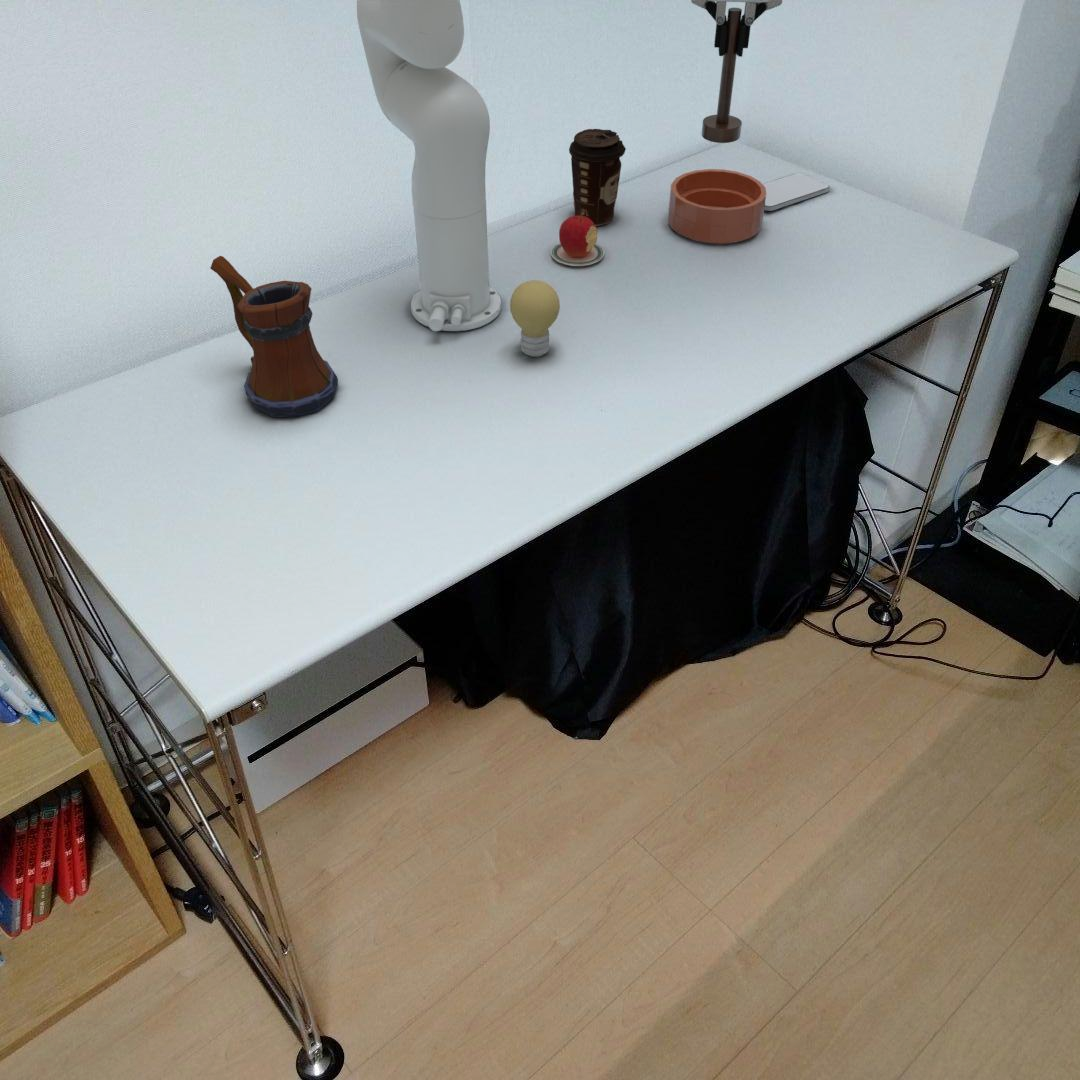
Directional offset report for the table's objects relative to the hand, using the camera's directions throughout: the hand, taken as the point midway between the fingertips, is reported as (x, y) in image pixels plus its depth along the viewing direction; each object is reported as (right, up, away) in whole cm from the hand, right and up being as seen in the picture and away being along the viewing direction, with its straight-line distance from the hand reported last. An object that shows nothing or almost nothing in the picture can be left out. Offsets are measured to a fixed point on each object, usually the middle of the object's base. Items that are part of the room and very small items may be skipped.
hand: (730, 52), depth 143 cm
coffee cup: (-18, -16, +23) cm, 33 cm away
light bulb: (-27, -43, -6) cm, 51 cm away
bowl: (+1, -18, +21) cm, 27 cm away
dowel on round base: (0, -9, +8) cm, 12 cm away
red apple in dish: (-21, -25, +14) cm, 35 cm away
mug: (-60, -48, -11) cm, 77 cm away
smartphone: (+14, -10, +29) cm, 34 cm away
